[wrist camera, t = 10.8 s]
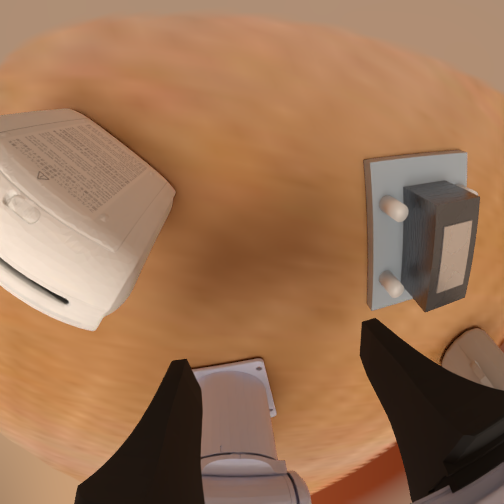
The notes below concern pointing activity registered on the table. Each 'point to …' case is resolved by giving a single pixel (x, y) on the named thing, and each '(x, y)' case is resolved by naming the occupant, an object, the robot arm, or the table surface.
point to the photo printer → (74, 215)
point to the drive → (438, 242)
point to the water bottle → (476, 359)
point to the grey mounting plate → (399, 213)
